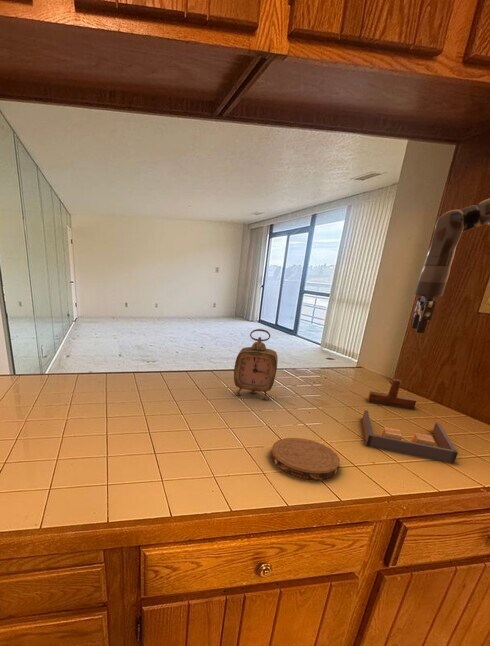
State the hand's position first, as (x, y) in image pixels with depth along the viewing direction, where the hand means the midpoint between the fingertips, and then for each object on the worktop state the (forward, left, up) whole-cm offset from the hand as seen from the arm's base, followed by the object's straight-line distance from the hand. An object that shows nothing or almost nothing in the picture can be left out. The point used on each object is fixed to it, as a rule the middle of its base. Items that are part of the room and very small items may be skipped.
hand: (417, 330), depth 118 cm
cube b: (+12, +37, -26) cm, 47 cm away
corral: (+14, +31, -26) cm, 43 cm away
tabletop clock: (+53, +2, -26) cm, 59 cm away
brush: (+4, +5, -26) cm, 27 cm away
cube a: (+19, +35, -26) cm, 48 cm away
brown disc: (+47, +48, -26) cm, 72 cm away
